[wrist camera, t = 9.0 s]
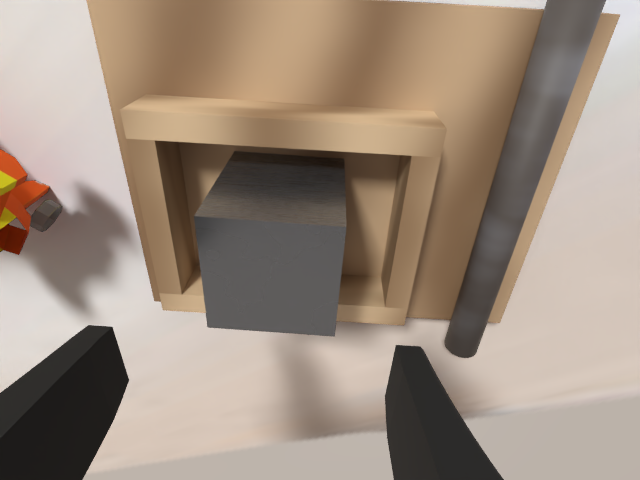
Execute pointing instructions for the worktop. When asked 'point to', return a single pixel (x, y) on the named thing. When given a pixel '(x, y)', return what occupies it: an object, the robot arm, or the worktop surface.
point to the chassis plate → (358, 133)
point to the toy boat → (21, 204)
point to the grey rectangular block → (273, 243)
